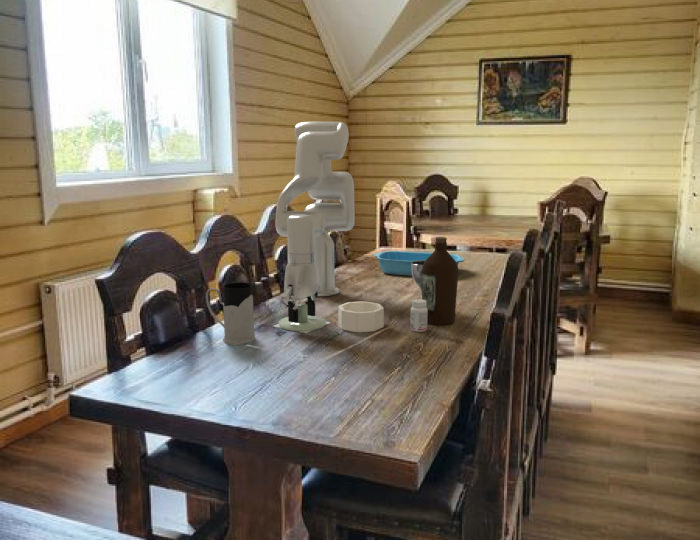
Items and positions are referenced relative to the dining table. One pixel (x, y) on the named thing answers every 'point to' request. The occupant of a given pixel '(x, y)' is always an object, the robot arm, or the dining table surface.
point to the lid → (303, 321)
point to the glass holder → (236, 313)
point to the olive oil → (440, 284)
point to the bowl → (360, 316)
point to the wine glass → (417, 273)
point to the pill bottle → (418, 315)
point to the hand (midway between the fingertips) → (302, 318)
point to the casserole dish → (404, 261)
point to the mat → (301, 331)
